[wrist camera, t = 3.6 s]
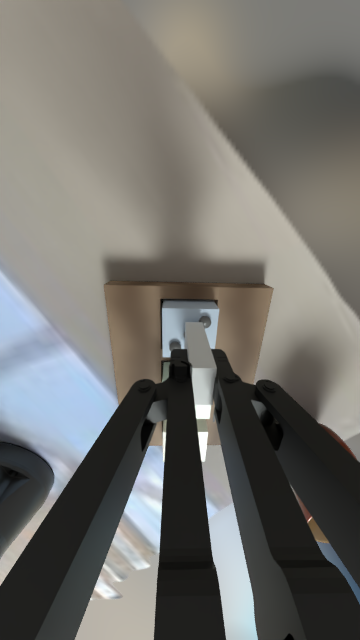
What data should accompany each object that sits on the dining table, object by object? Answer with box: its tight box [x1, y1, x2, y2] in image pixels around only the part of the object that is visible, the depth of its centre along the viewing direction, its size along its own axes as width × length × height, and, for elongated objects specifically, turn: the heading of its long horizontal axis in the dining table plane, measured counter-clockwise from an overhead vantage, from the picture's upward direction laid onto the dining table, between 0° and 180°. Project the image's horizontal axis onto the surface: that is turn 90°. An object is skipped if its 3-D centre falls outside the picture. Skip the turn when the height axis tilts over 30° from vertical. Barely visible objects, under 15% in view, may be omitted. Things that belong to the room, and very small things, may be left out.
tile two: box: [162, 362, 211, 419], centre depth 21 cm, size 5×5×4 cm
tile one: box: [163, 419, 208, 462], centre depth 23 cm, size 5×5×4 cm
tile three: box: [162, 299, 219, 357], centre depth 19 cm, size 5×5×4 cm
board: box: [104, 281, 274, 446], centre depth 23 cm, size 16×22×2 cm
